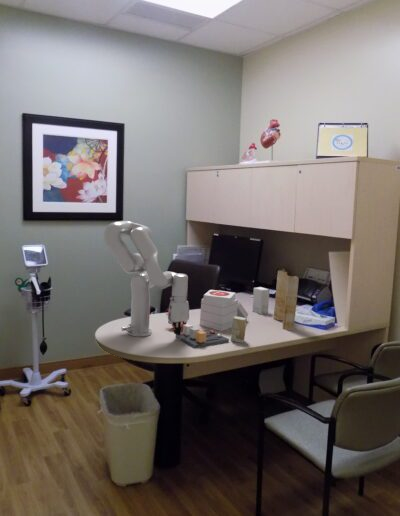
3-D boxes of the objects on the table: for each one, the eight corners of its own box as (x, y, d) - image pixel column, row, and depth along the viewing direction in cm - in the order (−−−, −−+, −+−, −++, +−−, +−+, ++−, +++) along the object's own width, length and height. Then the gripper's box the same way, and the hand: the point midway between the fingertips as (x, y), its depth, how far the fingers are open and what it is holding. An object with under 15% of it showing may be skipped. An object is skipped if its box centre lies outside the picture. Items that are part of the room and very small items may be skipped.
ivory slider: (186, 335, 240) (187, 326, 239) (182, 333, 243) (183, 324, 242) (192, 334, 242) (192, 325, 241) (188, 332, 245) (189, 324, 244)
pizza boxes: (250, 321, 278) (253, 291, 276) (222, 332, 254) (225, 299, 251) (223, 314, 289) (225, 285, 286) (194, 324, 265) (196, 293, 262)
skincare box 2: (268, 313, 298) (270, 289, 295) (260, 314, 294) (262, 290, 292) (259, 310, 305) (261, 286, 302) (251, 311, 301) (253, 287, 299)
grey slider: (193, 338, 235) (193, 330, 234) (189, 336, 238) (189, 328, 237) (198, 338, 237) (199, 329, 236) (195, 335, 240) (195, 327, 239)
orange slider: (200, 342, 230) (200, 333, 229) (195, 340, 233) (196, 331, 232) (205, 341, 232) (206, 332, 231) (201, 339, 235) (202, 330, 234)
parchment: (295, 330, 266) (300, 278, 262) (284, 330, 265) (289, 277, 261) (282, 318, 289) (287, 270, 284) (272, 318, 288) (277, 269, 283)
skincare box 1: (230, 341, 241) (232, 317, 239) (232, 338, 245) (234, 315, 244) (242, 343, 239) (244, 319, 237) (244, 340, 243) (246, 317, 241)
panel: (194, 348, 228) (194, 343, 227) (175, 337, 241) (175, 332, 241) (228, 342, 240) (229, 337, 239) (209, 332, 253) (209, 327, 253)
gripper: (170, 301, 228) (168, 338, 231) (195, 299, 237) (193, 334, 240) (162, 298, 234) (160, 333, 237) (187, 295, 243) (185, 330, 246)
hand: (177, 334), depth 238 cm, fingers closed
